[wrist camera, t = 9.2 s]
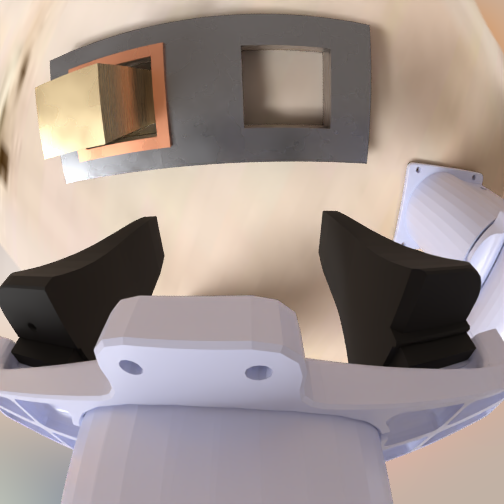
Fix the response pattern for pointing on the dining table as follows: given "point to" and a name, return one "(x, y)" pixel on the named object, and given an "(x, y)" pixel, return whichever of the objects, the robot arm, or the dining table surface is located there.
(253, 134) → the socket rail
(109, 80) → the brass peg
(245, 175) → the dining table surface
